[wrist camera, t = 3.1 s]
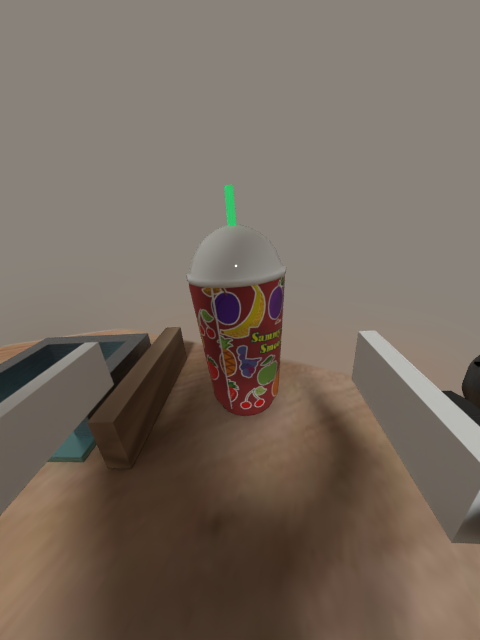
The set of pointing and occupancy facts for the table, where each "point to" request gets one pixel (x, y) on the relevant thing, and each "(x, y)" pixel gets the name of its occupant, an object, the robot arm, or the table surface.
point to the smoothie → (239, 313)
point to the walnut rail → (138, 401)
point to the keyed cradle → (43, 355)
